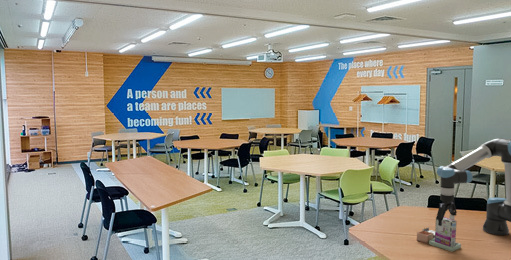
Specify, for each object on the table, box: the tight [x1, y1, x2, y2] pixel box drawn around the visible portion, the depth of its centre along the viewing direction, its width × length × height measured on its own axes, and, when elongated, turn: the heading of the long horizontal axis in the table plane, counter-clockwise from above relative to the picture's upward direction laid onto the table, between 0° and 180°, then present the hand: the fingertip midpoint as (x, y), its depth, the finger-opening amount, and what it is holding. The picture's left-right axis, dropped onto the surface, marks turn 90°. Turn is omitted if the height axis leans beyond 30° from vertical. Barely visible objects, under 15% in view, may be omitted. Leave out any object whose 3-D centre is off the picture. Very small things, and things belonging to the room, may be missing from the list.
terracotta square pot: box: [416, 229, 433, 244], centre depth 248 cm, size 7×7×5 cm
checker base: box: [422, 227, 435, 239], centre depth 253 cm, size 6×16×5 cm, turn 37°
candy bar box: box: [434, 216, 458, 247], centre depth 239 cm, size 11×5×16 cm, turn 27°
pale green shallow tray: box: [428, 238, 462, 253], centre depth 240 cm, size 10×14×2 cm
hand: (446, 228), depth 239 cm, fingers open, 13 cm apart
